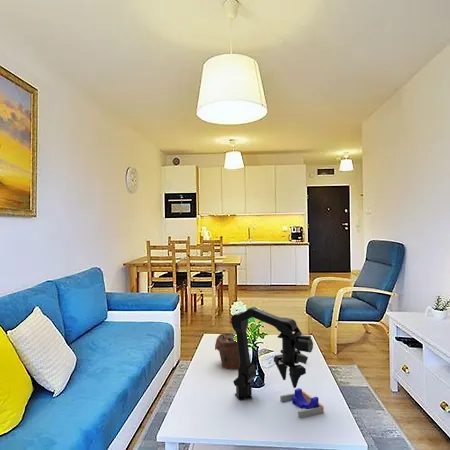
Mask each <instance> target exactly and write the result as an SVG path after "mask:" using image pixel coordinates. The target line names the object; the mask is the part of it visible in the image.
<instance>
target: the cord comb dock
mask: <svg viewBox="0 0 450 450" xmlns="http://www.w3.org/2000/svg"><path fill="white" fill-rule="evenodd" d="M302 394H303V397H304V398H305V400H306V401H307V402H308V403H310V402H311V398H313V396H311V395H310V394H308V393H307V392H306V391H305V390H303V389H302ZM294 396H295V392H293V393H288V394H282V395H280V396H279V399H280V402H281V403H282V402H287V401H292V397H294ZM324 412H325V409H324V404H321V403H320V402H319V407H316V408H311V409H303V410H302V409H301V410H298V411H297V418H299V419H301V418H306V417H311V416H315V415H319V414H323V413H324Z"/></svg>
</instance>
